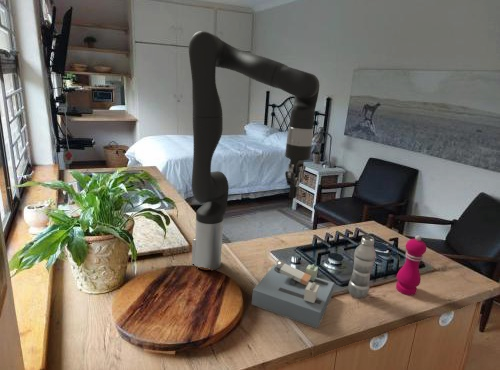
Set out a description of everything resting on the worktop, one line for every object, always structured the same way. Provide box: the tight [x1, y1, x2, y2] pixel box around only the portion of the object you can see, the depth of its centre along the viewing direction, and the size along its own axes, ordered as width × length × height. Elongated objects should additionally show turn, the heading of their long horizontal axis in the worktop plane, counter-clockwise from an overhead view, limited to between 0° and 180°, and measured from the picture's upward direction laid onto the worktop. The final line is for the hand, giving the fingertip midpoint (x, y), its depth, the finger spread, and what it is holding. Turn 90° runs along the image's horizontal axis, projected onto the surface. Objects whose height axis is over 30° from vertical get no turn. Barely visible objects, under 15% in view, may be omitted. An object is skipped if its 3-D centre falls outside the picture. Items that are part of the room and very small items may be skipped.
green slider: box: [305, 263, 319, 281], centre depth 110 cm, size 3×3×4 cm
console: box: [251, 264, 335, 329], centre depth 107 cm, size 20×17×6 cm
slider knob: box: [304, 282, 319, 303], centre depth 100 cm, size 3×4×4 cm
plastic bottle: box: [347, 235, 377, 299], centre depth 110 cm, size 6×7×20 cm
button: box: [276, 259, 287, 270], centre depth 114 cm, size 3×3×2 cm
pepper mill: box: [395, 234, 427, 296], centre depth 115 cm, size 7×7×20 cm
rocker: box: [279, 263, 311, 285], centre depth 108 cm, size 9×5×1 cm, turn 65°
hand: (292, 197), depth 111 cm, fingers closed
